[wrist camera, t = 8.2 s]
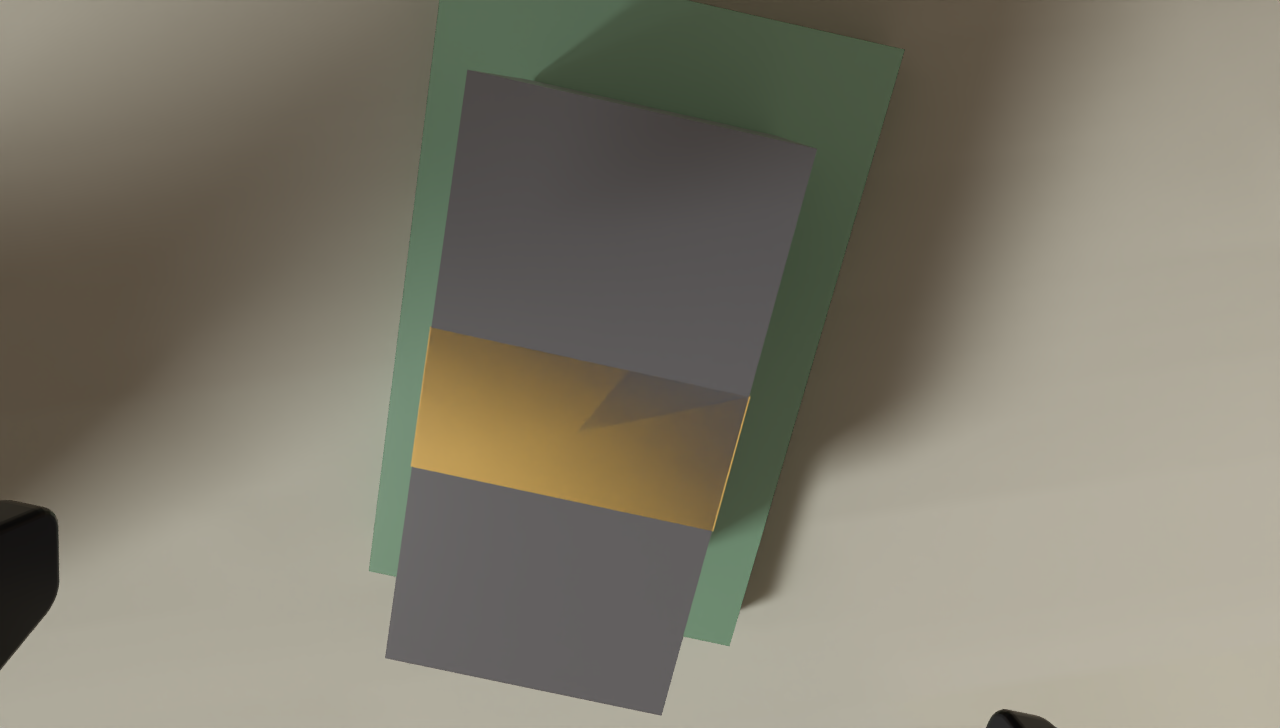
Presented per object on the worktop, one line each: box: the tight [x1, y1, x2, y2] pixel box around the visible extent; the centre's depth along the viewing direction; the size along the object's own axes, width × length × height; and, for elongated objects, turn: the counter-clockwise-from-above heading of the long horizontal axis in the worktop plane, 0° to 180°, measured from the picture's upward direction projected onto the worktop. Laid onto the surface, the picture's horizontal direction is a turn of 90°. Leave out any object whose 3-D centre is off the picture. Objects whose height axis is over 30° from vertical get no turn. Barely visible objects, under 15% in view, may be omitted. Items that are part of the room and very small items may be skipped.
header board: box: [369, 0, 905, 646], centre depth 17 cm, size 9×14×4 cm, turn 168°
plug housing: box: [385, 70, 817, 715], centre depth 15 cm, size 5×10×5 cm, turn 168°
